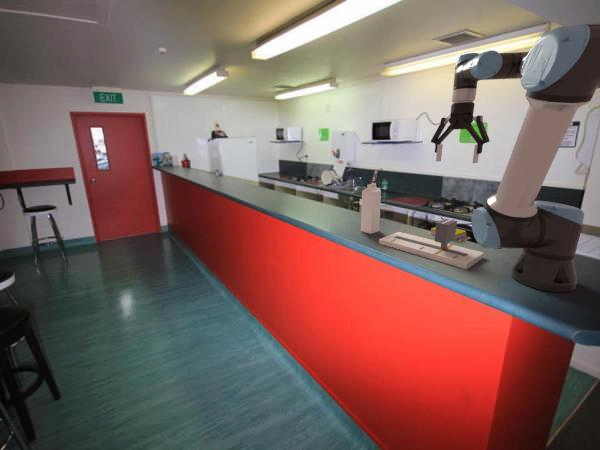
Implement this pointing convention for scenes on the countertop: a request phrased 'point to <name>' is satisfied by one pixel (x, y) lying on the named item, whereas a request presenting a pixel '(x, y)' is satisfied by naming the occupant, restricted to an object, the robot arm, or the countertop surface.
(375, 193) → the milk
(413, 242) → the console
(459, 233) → the emergency button
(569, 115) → the robot arm
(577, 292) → the countertop surface
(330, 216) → the countertop surface
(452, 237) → the fader
